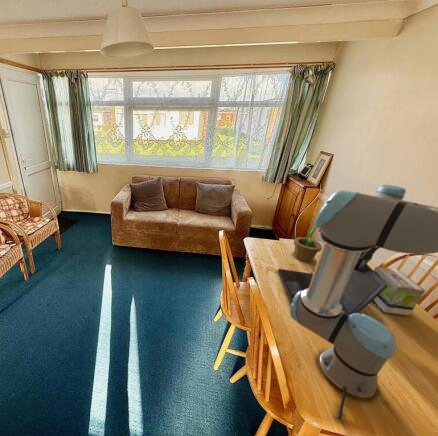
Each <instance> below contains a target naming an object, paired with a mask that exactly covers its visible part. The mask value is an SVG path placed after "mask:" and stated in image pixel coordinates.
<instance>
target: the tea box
mask: <svg viewBox="0 0 438 436" xmlns="http://www.w3.org/2000/svg"><path fill="white" fill-rule="evenodd" d="M373 271H374V272H375V273H376V274H377V275H378V276H379V277H380V278H381V279H382V280H383V281H384V282H385V283H386V284H387V285H388V286H387V287H386V288H385V289H384V290H383V291H382V292H381V293H380V294H379V295H378V296H377V297H375V298H374V299H373V300H372V301H373V302H374V303H375V304H376V305H377V306H378V307H379V308H380V309H381V310H382V311H383V312H384V313H388V314H394V315H402V316H410V314H411V313H412V312H413V310H414V309H415V307H416V306H417V304H418V303H419V302H420V300H421V298H422V297H423V296H424V295H425V292H426V289H424V288H423V287H422V286H420V285H419V284H417V282H415V281H414V280H412V278H410V277H409V276H408V275H406V274H405V273H404V272H402V271H401V270H400V269H398V268H387V267H379V266H375V268H374V270H373Z"/></svg>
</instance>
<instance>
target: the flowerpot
mask: <svg viewBox="0 0 438 436" xmlns="http://www.w3.org/2000/svg"><path fill="white" fill-rule="evenodd" d="M317 229H318V230H317ZM316 230H317V232H318V233H320V232H321V228H318V227H316V226H315V227H314V228H311V230H310V233H309V235H308V237H306V236H305V237H304V236H303V237H302V236H298V237H295V238H294V240H293V245H294V250H293V258H295V259H297V260H298V261H301V262H305V263H310V262H313V260H314V259H315V257H316V255H317V254H318V253H319V252H321V249H322V246H323V244H321V243H320V242H319V241H317V240H316V239H312V235H313V234H314V232H315V231H316Z"/></svg>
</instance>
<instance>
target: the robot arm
mask: <svg viewBox="0 0 438 436" xmlns="http://www.w3.org/2000/svg"><path fill="white" fill-rule="evenodd" d="M406 192H407V189H405V188H404V187H402V186H398V185H391V184H381V185H379V187H378V189H377V191H375V195H370V194H365V193H361V192H359V191H351V190H343V189H342V190H337V191H335V192H334V193H332V195H330V197H329V198H328V199H327V200H326V201H325V203H324V204H323V206H322V207H321V209H320V211H319V212H318V214H317V216H316V218H315V221H314V226H315V227H317V229H319V228H321V232H319V236H320V238H321V240H322V241H323V244H322V249H321V251H319V252H320V253H319V256H318V259H317V261H316V264H315V267H314V271H313V273H312V274H313V277H312V280H311V283H310V286H309V288H307V289H305V290H301V291H299V292H298V293H297V294H296V295H295V297H294V299H293V302H292V304H291V303H290V309H289V314H290V317H291V319H293V321H295V322H296V323H297V324H299V325H300V326H302V327H304V328H305V329H307V330H309V331H310V332H311V333H314V334H315V335H317V336H319V337H320V338H322V339H323V340H325V341H326V342H328V343H330V344H331V345H332V346H331V347H329V348H327V349H326V350H324V351H323V352H322V353H321V354H320V356H319V359H318V364H319V367H320V369H321V372H322V373H323V375H324V376H325V378H326V379H327V380H328V381H329V383H331V384H332V385H333V386H334V387H336V388H337V389H339V390H340V391H341V392H342V394H341V399H340V403H339V409H338V413H337V419H338V420H340V421H341V420H342V414H343V410H344V404H345V399H346V396H347V395H349V396H352V397H354V398H357V399H370V398H372V397H373V396H374V395H375V394H376V392H377V389H378V374H379V373H380V372H381V370H382V368H383V367H384V366H385V364H386V363H387V361H388V360H389V359H391V358H392V357H393V354H394V352H395V350H396V347H397V342H396V339H395V338H396V337H394V335H393V333H391V331H390V330H389V329H388V328H387V327H386V326H385V325H384V324H383V323H382V322H380V321H379V320H377V319H375V318H373V317H371V316H370V315H367V314H364V313H362V314H361V313H360V312H359V313H354V314H351V315H350V314H348V313H346V312H344V311H342V304H341V302H340V299H341V296H342V294H343V292H344V290H345V288H346V285H347V283H348V281H349V279H350V277H351V274H352V272H353V270H358V268H359V266H360V265H361V263H362V261H363V260H367V261H368V260H369V259H370V257H371V256H372V255H373V256H374V254H375V253H376V252H377V250H379V249H380V248H381V249H384V250H387V251H391V252H396V253H402V254H409V255H410V254H412V255H427V254H428V255H429V254H437V253H438V207H437V206H433V205H427V204H422V203H417V202H413V201H408V200H404V198H405V195H406ZM373 256H372V257H373ZM346 394H347V395H346Z"/></svg>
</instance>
